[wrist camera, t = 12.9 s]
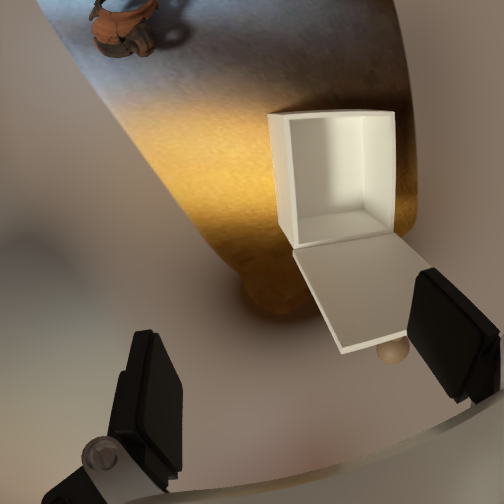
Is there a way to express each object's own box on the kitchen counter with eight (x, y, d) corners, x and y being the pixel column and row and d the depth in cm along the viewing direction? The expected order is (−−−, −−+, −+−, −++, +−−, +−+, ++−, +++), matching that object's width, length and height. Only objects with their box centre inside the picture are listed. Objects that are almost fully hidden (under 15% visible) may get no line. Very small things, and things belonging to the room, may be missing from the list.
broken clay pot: (81, 41, 31) (74, 1, 23) (135, 10, 33) (138, -29, 25) (126, 87, 33) (124, 46, 25) (184, 51, 35) (194, 11, 27)
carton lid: (342, 347, 24) (335, 394, 27) (470, 306, 25) (450, 354, 28) (292, 250, 38) (294, 295, 42) (394, 232, 39) (388, 275, 43)
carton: (267, 113, 39) (282, 114, 31) (361, 109, 40) (394, 111, 32) (278, 223, 46) (294, 249, 38) (364, 211, 47) (393, 232, 39)
